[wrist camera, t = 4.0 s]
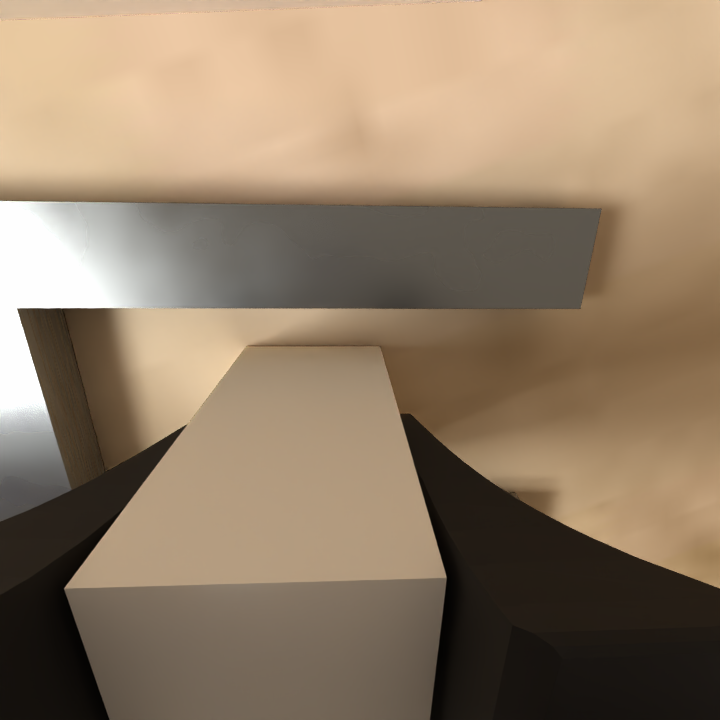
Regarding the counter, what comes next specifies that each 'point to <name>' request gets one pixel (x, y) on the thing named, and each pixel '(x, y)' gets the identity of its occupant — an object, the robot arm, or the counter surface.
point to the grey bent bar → (239, 289)
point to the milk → (168, 6)
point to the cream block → (272, 556)
